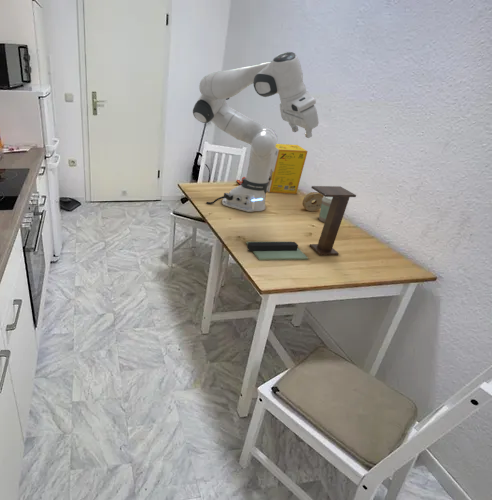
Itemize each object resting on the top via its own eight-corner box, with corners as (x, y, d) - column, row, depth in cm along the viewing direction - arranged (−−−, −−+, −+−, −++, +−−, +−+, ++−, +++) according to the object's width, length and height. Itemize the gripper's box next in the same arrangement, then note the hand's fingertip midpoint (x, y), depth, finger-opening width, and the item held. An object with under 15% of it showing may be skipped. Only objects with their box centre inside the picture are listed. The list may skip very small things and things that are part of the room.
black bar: (249, 251, 144) (250, 245, 142) (246, 247, 146) (248, 242, 145) (296, 250, 146) (298, 245, 145) (293, 247, 149) (294, 241, 148)
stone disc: (319, 209, 191) (324, 191, 187) (321, 212, 188) (327, 194, 183) (299, 208, 191) (304, 190, 187) (302, 211, 188) (307, 192, 183)
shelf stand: (306, 256, 143) (325, 194, 131) (294, 245, 152) (311, 185, 140) (339, 256, 145) (361, 195, 133) (325, 245, 154) (345, 186, 142)
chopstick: (247, 193, 208) (247, 192, 207) (236, 181, 229) (236, 179, 228) (250, 194, 208) (250, 192, 207) (239, 181, 229) (239, 179, 228)
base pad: (259, 260, 139) (259, 258, 139) (246, 243, 151) (246, 241, 151) (307, 259, 142) (308, 257, 141) (290, 243, 154) (291, 241, 153)
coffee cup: (336, 224, 174) (344, 201, 168) (318, 222, 175) (325, 199, 170) (332, 218, 181) (339, 195, 176) (314, 216, 183) (321, 193, 177)
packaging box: (261, 183, 227) (270, 143, 215) (287, 185, 227) (297, 144, 215) (268, 192, 213) (278, 149, 201) (296, 193, 212) (307, 151, 201)
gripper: (272, 99, 140) (281, 132, 147) (301, 108, 123) (309, 144, 130) (287, 91, 140) (295, 124, 147) (318, 99, 122) (325, 136, 129)
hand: (302, 134), depth 138 cm, fingers open, 8 cm apart
